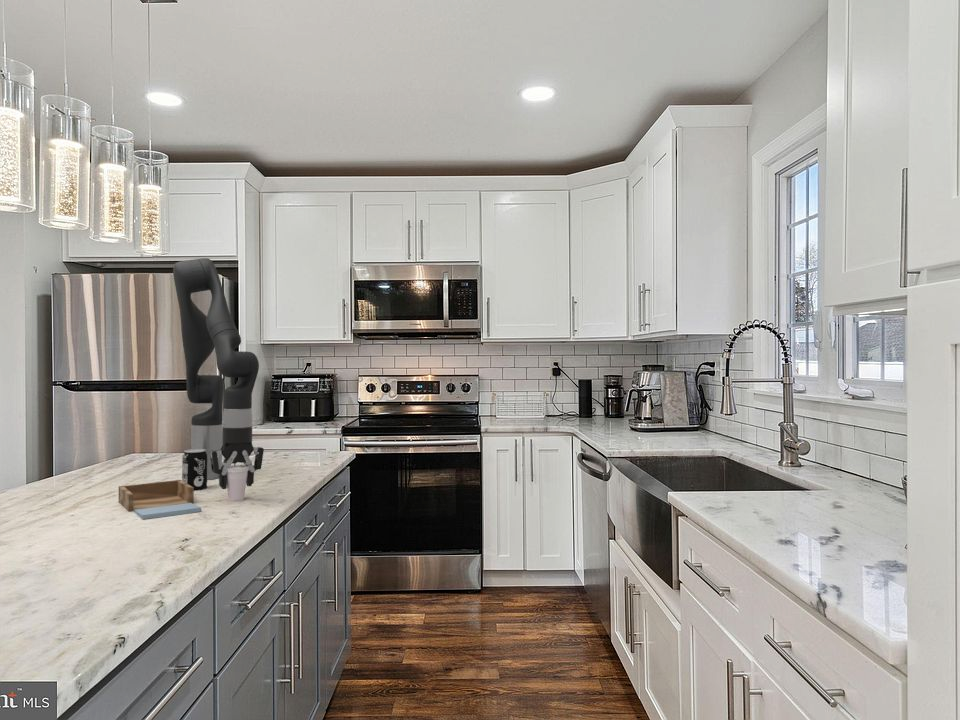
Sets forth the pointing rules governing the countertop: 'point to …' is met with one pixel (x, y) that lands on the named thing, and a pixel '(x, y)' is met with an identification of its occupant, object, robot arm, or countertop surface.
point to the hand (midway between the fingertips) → (236, 487)
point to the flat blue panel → (167, 510)
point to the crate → (155, 494)
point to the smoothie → (236, 481)
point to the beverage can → (195, 468)
